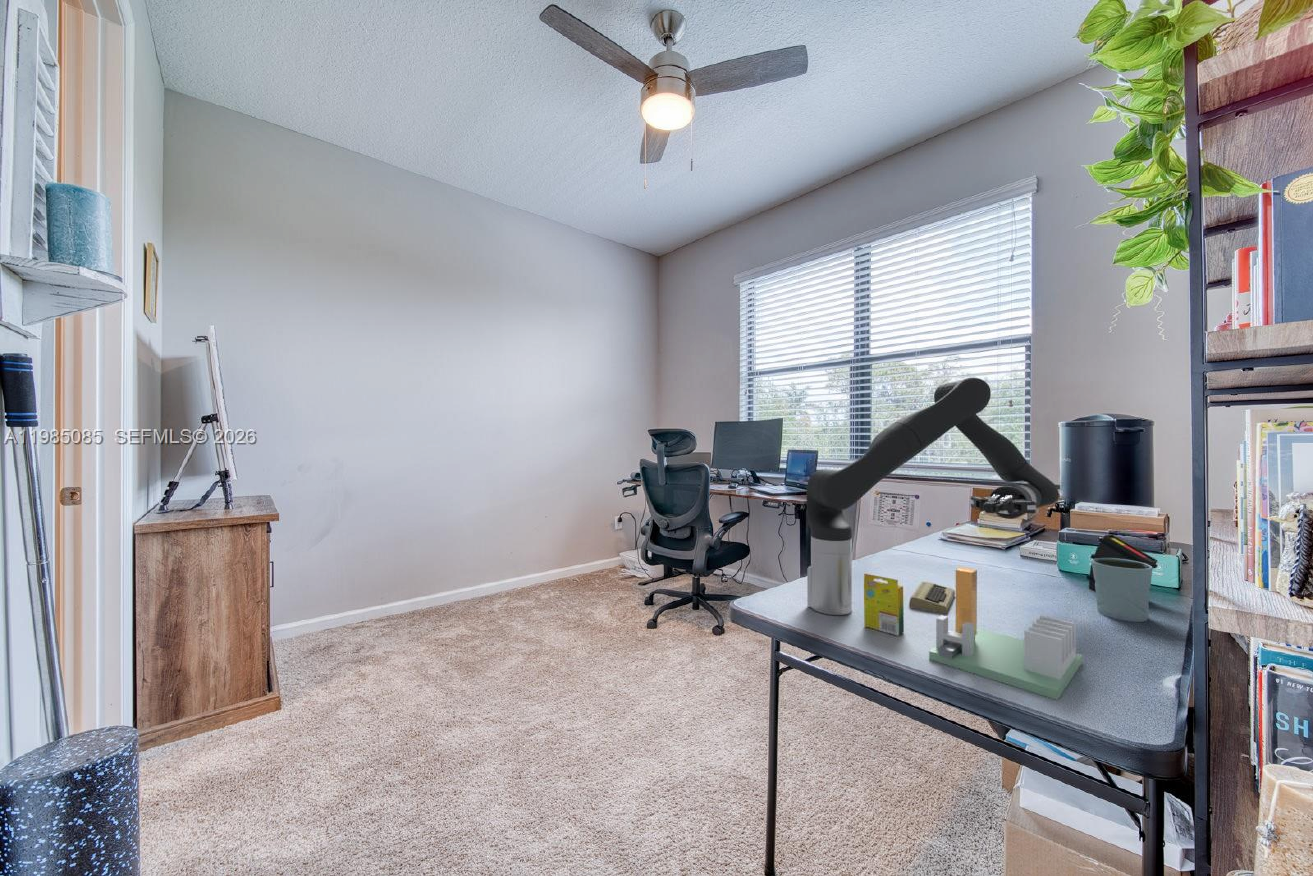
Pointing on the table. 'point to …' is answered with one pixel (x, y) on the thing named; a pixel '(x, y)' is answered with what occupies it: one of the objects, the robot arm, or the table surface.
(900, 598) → the crayon box
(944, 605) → the computer
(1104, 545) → the black striped box
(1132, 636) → the table surface
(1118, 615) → the grey green bin
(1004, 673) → the heatsink board
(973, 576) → the wooden block
